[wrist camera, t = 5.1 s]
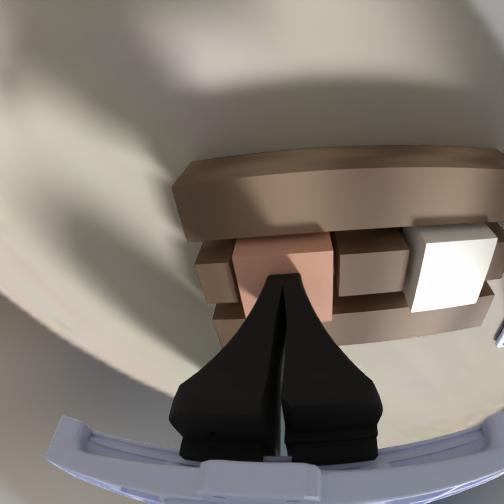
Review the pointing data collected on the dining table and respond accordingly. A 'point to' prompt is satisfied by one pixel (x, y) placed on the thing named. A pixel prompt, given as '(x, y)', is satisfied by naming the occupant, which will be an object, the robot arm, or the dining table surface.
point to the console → (344, 226)
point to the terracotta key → (286, 266)
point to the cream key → (446, 264)
